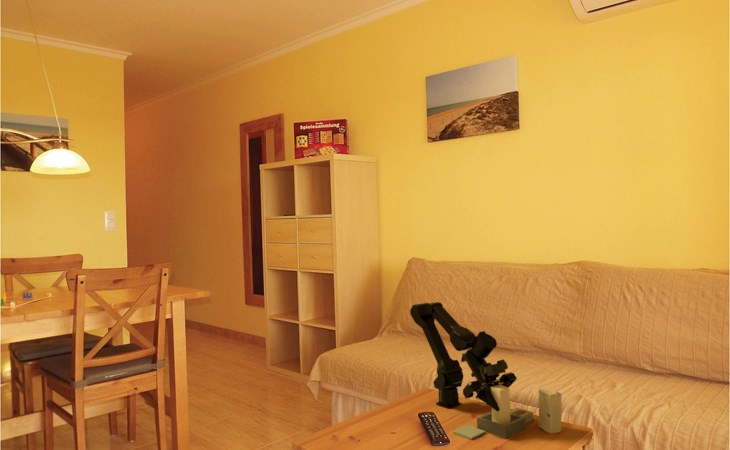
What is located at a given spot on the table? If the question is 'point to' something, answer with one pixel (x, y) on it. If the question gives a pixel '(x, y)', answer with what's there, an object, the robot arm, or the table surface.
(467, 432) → the rubber mat
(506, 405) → the cream rectangular block
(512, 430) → the grey green open tray
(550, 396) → the skincare box
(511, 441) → the table surface
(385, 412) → the table surface
